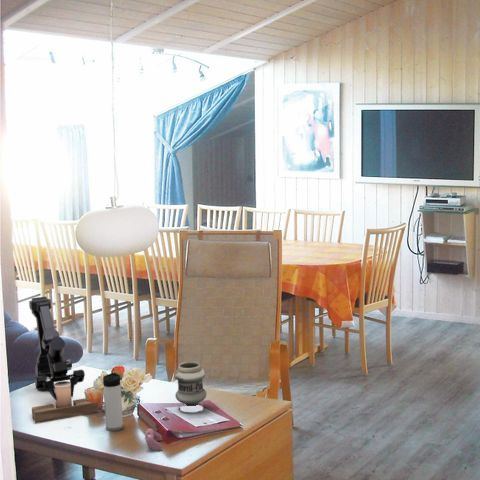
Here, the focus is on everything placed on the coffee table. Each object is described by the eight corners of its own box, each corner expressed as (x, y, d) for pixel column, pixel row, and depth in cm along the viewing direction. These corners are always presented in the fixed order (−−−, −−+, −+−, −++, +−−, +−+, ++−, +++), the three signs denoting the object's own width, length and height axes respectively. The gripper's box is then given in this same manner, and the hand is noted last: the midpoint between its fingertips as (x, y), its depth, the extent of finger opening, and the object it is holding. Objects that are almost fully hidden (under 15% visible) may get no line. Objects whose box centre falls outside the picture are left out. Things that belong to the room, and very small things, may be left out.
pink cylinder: (54, 412, 317) (52, 382, 315) (70, 409, 319) (68, 380, 318) (58, 417, 311) (56, 387, 310) (74, 414, 314) (72, 384, 312)
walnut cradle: (32, 417, 312) (31, 407, 312) (93, 406, 322) (92, 397, 321) (35, 423, 306) (34, 413, 305) (98, 412, 315) (97, 402, 315)
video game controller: (152, 444, 286) (142, 428, 284) (163, 438, 286) (153, 422, 284) (151, 456, 276) (141, 439, 275) (163, 449, 276) (153, 432, 275)
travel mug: (125, 424, 302) (122, 372, 299) (120, 431, 295) (117, 378, 292) (108, 424, 302) (105, 372, 299) (103, 431, 296) (100, 378, 293)
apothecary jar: (170, 412, 312) (168, 367, 310) (184, 402, 324) (182, 358, 321) (199, 415, 308) (197, 370, 305) (212, 405, 319) (210, 361, 316)
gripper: (34, 356, 312) (41, 392, 303) (82, 349, 319) (90, 384, 311) (32, 370, 320) (39, 406, 312) (78, 363, 328) (87, 398, 319)
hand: (64, 398), depth 313 cm, fingers closed on pink cylinder, 6 cm apart
